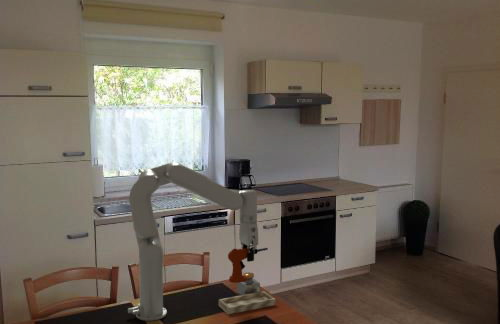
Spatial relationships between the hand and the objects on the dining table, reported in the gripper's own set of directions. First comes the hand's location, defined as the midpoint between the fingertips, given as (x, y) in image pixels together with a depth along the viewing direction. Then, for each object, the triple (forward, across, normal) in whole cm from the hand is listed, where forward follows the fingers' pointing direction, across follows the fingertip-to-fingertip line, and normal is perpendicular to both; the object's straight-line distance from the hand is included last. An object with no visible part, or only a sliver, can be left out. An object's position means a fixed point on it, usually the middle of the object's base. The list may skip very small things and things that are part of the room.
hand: (247, 259), depth 200 cm
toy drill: (+10, 0, 0) cm, 10 cm away
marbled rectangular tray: (+21, 0, 0) cm, 21 cm away
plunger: (+21, +11, -6) cm, 24 cm away
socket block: (+21, +12, -6) cm, 25 cm away
